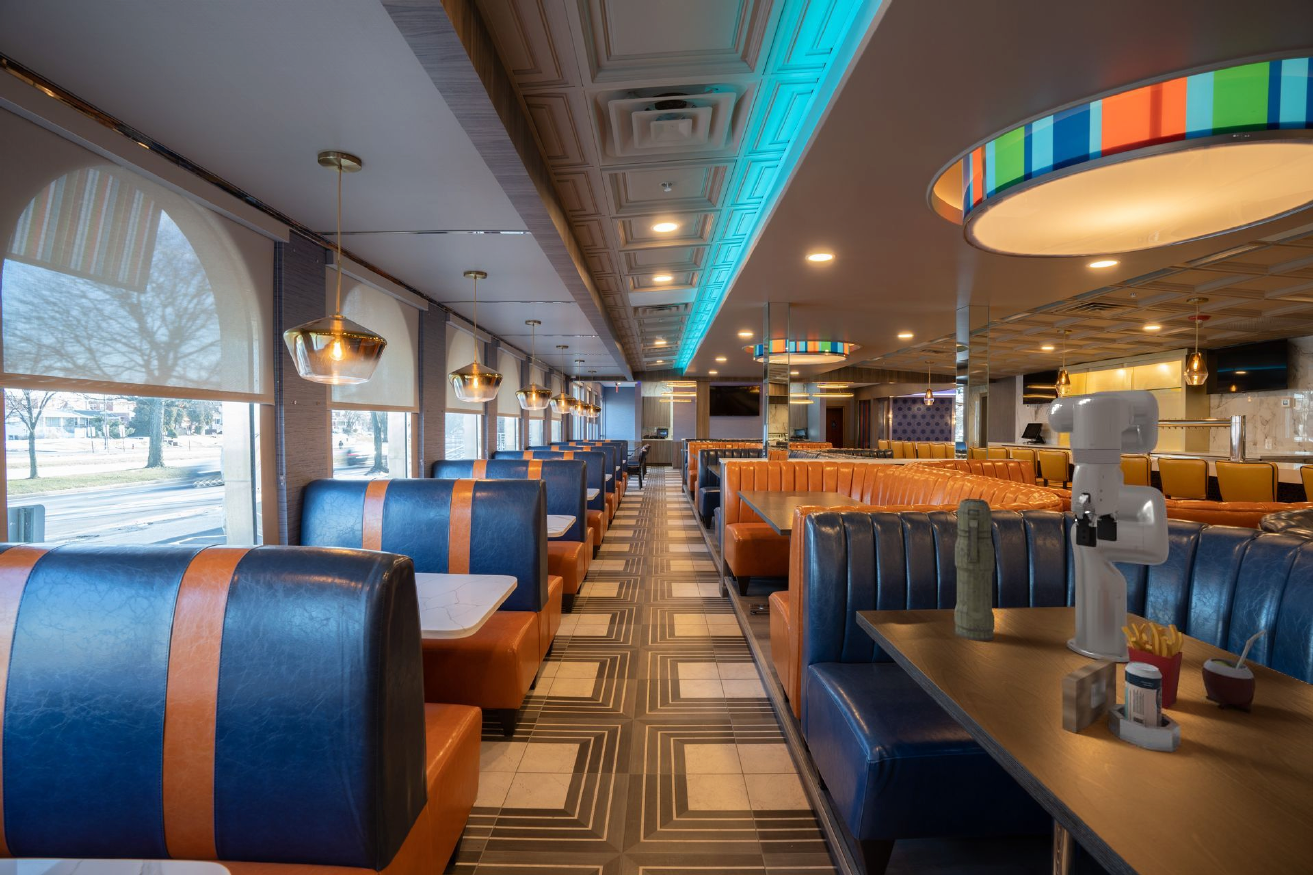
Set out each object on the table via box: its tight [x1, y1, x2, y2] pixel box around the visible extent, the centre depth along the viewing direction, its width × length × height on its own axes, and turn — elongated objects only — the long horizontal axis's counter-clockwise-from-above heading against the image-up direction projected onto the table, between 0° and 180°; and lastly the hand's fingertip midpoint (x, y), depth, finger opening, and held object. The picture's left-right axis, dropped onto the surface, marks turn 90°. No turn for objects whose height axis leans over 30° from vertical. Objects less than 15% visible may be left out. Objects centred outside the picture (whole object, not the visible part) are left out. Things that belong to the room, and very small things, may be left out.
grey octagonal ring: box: [1107, 703, 1181, 753], centre depth 93 cm, size 8×8×4 cm
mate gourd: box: [1201, 629, 1268, 714], centre depth 104 cm, size 8×8×15 cm
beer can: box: [1124, 662, 1163, 727], centre depth 94 cm, size 5×5×12 cm
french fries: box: [1121, 622, 1185, 710], centre depth 107 cm, size 9×8×15 cm
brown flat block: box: [1061, 657, 1117, 734], centre depth 100 cm, size 17×2×9 cm, turn 122°
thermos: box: [953, 498, 995, 642], centre depth 142 cm, size 9×12×35 cm
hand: (1096, 543), depth 110 cm, fingers open, 9 cm apart
